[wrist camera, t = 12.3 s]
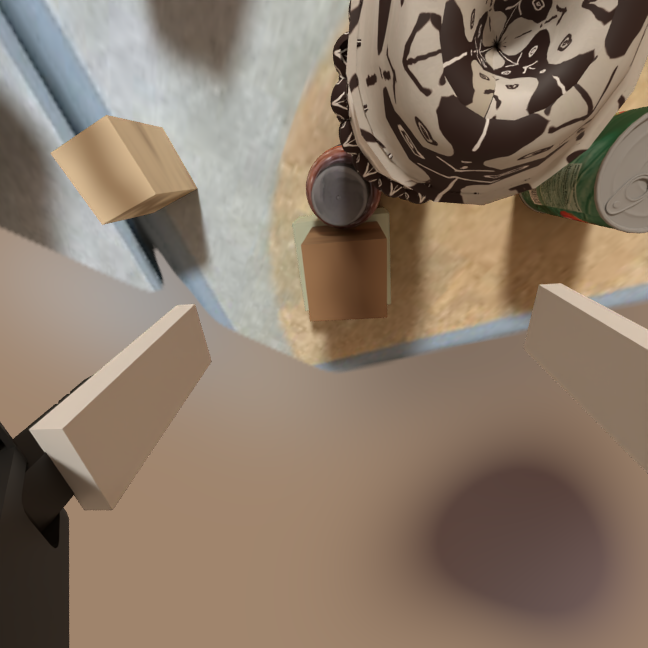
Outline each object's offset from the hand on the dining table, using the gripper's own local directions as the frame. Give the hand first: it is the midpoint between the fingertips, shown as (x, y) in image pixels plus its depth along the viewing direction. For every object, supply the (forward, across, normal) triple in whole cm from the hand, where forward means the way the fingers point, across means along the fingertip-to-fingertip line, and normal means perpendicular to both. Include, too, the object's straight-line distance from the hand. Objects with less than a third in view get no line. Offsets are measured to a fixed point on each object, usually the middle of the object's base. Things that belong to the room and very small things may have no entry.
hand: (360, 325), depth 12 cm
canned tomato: (+24, +20, +4) cm, 31 cm away
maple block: (+24, -20, +7) cm, 32 cm away
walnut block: (+19, 0, -2) cm, 19 cm away
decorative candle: (+24, +4, +8) cm, 26 cm away
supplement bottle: (+23, +1, +5) cm, 24 cm away
